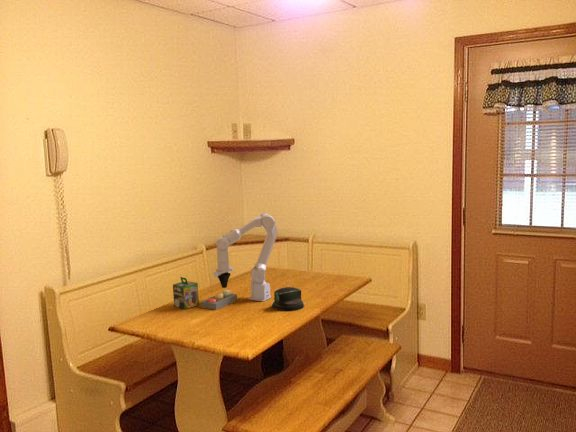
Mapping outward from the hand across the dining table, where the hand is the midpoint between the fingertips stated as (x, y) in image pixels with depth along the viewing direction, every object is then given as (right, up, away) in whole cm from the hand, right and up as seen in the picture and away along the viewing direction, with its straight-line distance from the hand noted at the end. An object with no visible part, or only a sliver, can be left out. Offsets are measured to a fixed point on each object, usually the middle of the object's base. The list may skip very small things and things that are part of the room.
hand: (224, 287), depth 275 cm
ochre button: (-2, -6, -3) cm, 7 cm away
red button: (-5, -8, -8) cm, 12 cm away
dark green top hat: (+32, -9, -10) cm, 35 cm away
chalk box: (-18, -9, -5) cm, 21 cm away
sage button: (+1, -5, +2) cm, 6 cm away
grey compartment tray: (-2, -8, -3) cm, 8 cm away
